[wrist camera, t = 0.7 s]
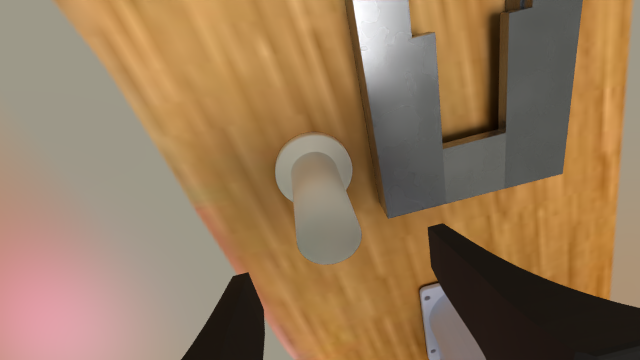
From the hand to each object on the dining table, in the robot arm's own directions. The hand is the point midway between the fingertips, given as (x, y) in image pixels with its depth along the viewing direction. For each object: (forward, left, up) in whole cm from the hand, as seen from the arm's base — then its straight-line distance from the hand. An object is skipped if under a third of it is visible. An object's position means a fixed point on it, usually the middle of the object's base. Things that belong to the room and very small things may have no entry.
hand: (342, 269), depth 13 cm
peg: (0, 0, -10) cm, 10 cm away
